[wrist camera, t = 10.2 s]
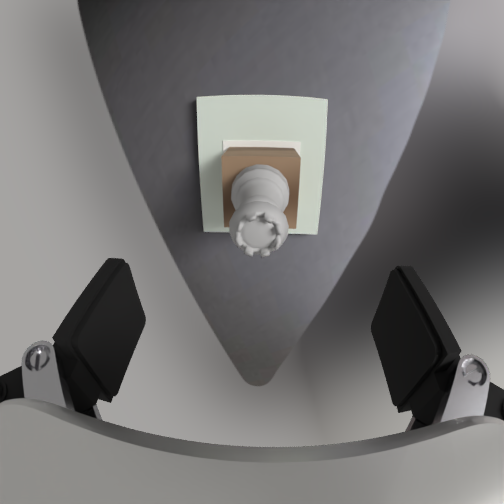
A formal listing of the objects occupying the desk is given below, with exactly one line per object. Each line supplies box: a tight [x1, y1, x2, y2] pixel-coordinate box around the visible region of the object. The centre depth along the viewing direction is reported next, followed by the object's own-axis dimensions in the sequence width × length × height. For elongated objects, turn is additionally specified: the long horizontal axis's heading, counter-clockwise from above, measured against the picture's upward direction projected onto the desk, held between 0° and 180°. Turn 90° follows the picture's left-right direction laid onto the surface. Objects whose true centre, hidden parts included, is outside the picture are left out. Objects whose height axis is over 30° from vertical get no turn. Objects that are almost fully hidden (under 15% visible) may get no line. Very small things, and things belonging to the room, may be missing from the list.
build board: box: [197, 95, 328, 234], centre depth 25 cm, size 14×12×1 cm
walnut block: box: [221, 147, 301, 229], centre depth 23 cm, size 6×6×5 cm
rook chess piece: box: [229, 164, 289, 258], centre depth 17 cm, size 4×4×8 cm
